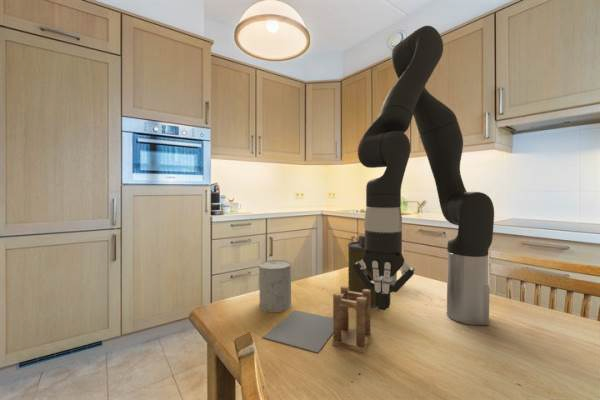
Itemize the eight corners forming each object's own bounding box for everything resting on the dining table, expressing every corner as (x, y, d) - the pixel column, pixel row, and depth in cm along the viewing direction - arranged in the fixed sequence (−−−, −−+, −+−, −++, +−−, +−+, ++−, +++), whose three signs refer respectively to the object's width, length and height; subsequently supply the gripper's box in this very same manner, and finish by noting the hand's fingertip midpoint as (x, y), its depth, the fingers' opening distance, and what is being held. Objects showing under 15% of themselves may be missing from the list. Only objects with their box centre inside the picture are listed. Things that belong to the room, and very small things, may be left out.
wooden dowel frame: (371, 336, 64) (371, 289, 64) (363, 352, 58) (363, 300, 58) (342, 330, 68) (342, 285, 67) (332, 344, 61) (332, 295, 61)
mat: (342, 320, 72) (342, 320, 72) (318, 353, 58) (318, 352, 58) (294, 310, 79) (294, 310, 79) (262, 337, 64) (262, 336, 64)
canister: (386, 307, 80) (386, 238, 79) (350, 307, 80) (350, 239, 80) (377, 293, 91) (377, 232, 90) (345, 293, 91) (345, 233, 91)
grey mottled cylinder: (296, 301, 85) (296, 262, 85) (282, 314, 76) (281, 270, 76) (270, 297, 89) (269, 259, 89) (252, 308, 80) (252, 266, 80)
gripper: (418, 227, 59) (417, 307, 60) (356, 224, 65) (356, 297, 66) (415, 232, 53) (414, 322, 53) (347, 228, 58) (347, 309, 59)
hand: (382, 308), depth 59 cm, fingers closed
